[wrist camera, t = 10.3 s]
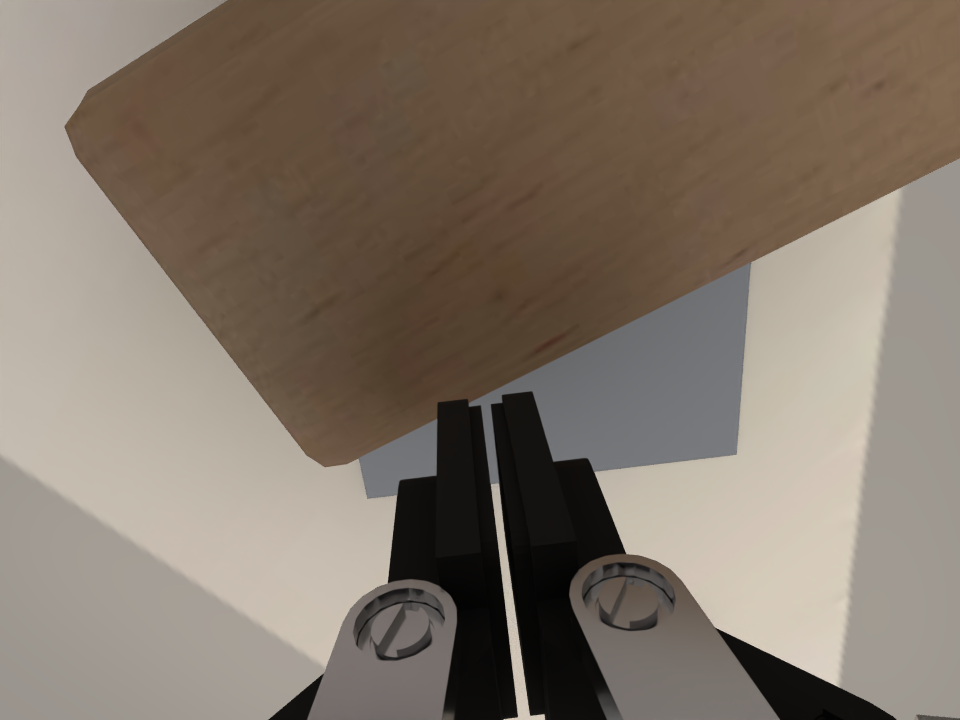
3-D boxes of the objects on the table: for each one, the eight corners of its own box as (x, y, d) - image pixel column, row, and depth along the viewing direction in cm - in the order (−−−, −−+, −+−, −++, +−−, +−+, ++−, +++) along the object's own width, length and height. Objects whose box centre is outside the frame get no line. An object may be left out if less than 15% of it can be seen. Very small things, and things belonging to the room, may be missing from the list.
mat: (257, -23, 20) (255, -24, 20) (772, -80, 20) (776, -83, 20) (368, 494, 28) (367, 498, 28) (733, 451, 28) (736, 454, 28)
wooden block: (316, 496, 16) (1144, 87, 13) (18, 117, 12) (1099, -583, 9) (362, 344, 25) (852, 85, 22) (202, 103, 21) (767, -247, 18)
